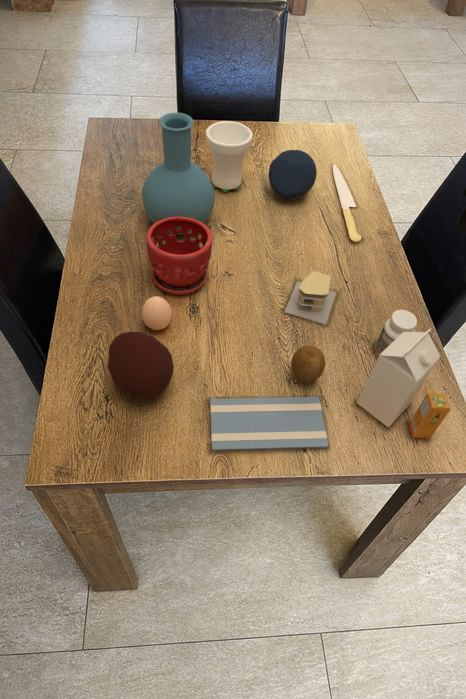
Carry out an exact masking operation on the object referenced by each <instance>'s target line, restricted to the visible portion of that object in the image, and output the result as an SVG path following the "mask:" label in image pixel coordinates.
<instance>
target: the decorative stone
mask: <svg viewBox="0 0 466 699" xmlns="http://www.w3.org/2000/svg"><path fill="white" fill-rule="evenodd" d="M317 173H318V172H317V165H316V162H315V160H314V159H313V157H312V156H311V155H310V154H308V153H307V152H305V151H303V150H300V149H287V150H285V151H281V152H280V153H279V154H278V155H277V156H276V157H275V158H274V159H273V160H272V161H271V163H270V165H269V168H268V182H269V186H270V187H271V189H272V191H273V192H274V193H275V194H276V195H277V196H279V197H281V198H283V199H289V200H292V199H293V200H294V199H298V198H300V197H304V196H305V195H306V194H308V193H309V192H310V191H311V190H312V188H313V187H314V185H315V183H316V180H317V175H318V174H317Z"/></svg>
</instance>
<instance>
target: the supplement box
mask: <svg viewBox="0 0 466 699" xmlns="http://www.w3.org/2000/svg"><path fill="white" fill-rule="evenodd" d="M451 410H452V407H451V405H450V402H449V399H448V396H447V394H446V393H443V392H442V393H441V392H440V393H439V392H427V393H426V395H425V396H424V398H423V399H422V401H421V403H420V404H419V406H418V408H417V409H416V411H415V412H414V414H413V415H412V417H411V419H410V421H409V423H408V425H409V429H410V434H411V438H412V439H427V440H429V439H431V438H432V437H433V435H434V434H435V432H436V431H437V429H438V428H439V427H440V426H441V424H442V422H443V421H444V420H445V419H446V417H447V416H448V414H449V412H450V411H451Z"/></svg>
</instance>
